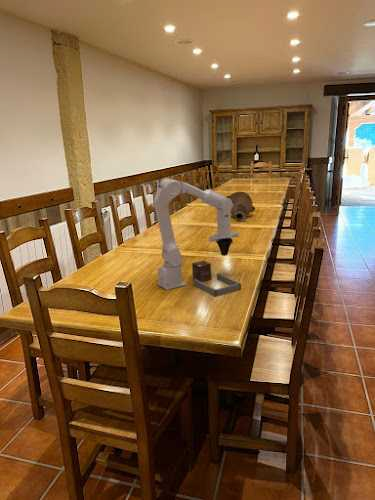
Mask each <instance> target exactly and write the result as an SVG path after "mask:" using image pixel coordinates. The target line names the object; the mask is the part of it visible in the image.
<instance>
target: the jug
mask: <svg viewBox="0 0 375 500" xmlns="http://www.w3.org/2000/svg"><path fill="white" fill-rule="evenodd" d="M225 197H227V198H230V199H231V201H232V203H233V207H232V209H231V216H233V217H234V218H235V219H236V220H238V221H240V222H243V223H244V222H245V221H246V220H247V216H248V215H250V214H251V213H253V212H256V208H255V206H253V200H252V199H253V198H252V197H251V196H250V194H248V193H247V192H244V191H236V192H234V193H231V194H230V195H226V196H225Z"/></svg>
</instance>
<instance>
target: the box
mask: <svg viewBox="0 0 375 500" xmlns="http://www.w3.org/2000/svg"><path fill="white" fill-rule="evenodd" d="M191 265H192V266H191V267H192V270H191V271H192V279H193V280H194V279H196V280H198V281H200V282H202V283H203V282H205V281H209V280H212V264H211V263H210V262H208V261H205V260H199V261H196V262H192V264H191Z"/></svg>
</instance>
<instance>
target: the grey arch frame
mask: <svg viewBox="0 0 375 500" xmlns="http://www.w3.org/2000/svg"><path fill="white" fill-rule="evenodd" d="M216 280H218V281H221V282H222V283H225V284H227V286H224V287H220V288H216V289H215V288H214V287H211V286H210V285H208V284H207V283H203V282H200V281H198V280H196V279H193V285H194V286H195V287H197V288H199V289H201V290H202V291H205V292H206V293H208V294H210V295H212V296H214V297H218V296H219V297H220V296H222V295H226V294H229V293H232V292H233V293H234V292H236V291H239V290H241V289H242V283H241V282H238V281H236V280H234V279H233V278H230V277H228V276H226V275H224V274H221V273H219V272H217V273H216Z"/></svg>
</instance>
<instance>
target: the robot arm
mask: <svg viewBox="0 0 375 500" xmlns="http://www.w3.org/2000/svg"><path fill="white" fill-rule="evenodd" d="M185 193H186V194H189V195H191V196H194V197H198V198H200V200H201V202H202V203H203V204H205V205H208V206H211V207H213V208H216V220H217V222H216V223H217V226H216V227H217V228H216V229H217V230H216V231H217V232H216V233H217V234H215V235H212V236H209V237H208V241H209V242H210V243H214V242H216V244H217V246H218V248H219V251H220V254H221V256H223V257H225V256H228V255H229V250H230V248H231V245H232V243H233V240H234V239H233V238H239V237H240V236H239V235H240V233H239V231H232V229H231V223H232V222H231V221H232V220H231V217H232V214H231V209H232V207H233V203H232V201H231V199H230V198H227V197H226V196H224V195H223V193H217V192H215V190H213V189H212V188H210V189H205V190H202V189H200V188H198V187H196V186H194V185H191V184H189V183H188V182H184V181H180V180H176V179H171V178H167V177H165V178H163V179H161V180H160V181H159V183H158V184H157V185H156V192H155V196H154V199H153V206H154V211H155V215H156V219H157V223H158V227H159V232H160V233H159V234H160V236H161V241H162V245H161V248H162V251H161V257H162V259H163V260H164V261H163V265H162V266H159V267H158V268H157V279H158V283H157V285H158V286H159V287H160V288H162V289H165V290H166V291H168V290H172V289H175V288H180V287H184V286H186V285H187V283H185V282H184V281H183V279H182V277H183V275H182V274H183V273H182V262H183V259H184V258H183V254H182V253H181V252H180V248H179V246H178V245H177V243H176V238H175V235H174V229H173V225H172V221H171V215H170V211H169V207H168V205H169V204H170V203H171V201H172V200H173V199H174V198H176V197H177V196H178V195H179V194H181V195H182V194H185Z"/></svg>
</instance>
